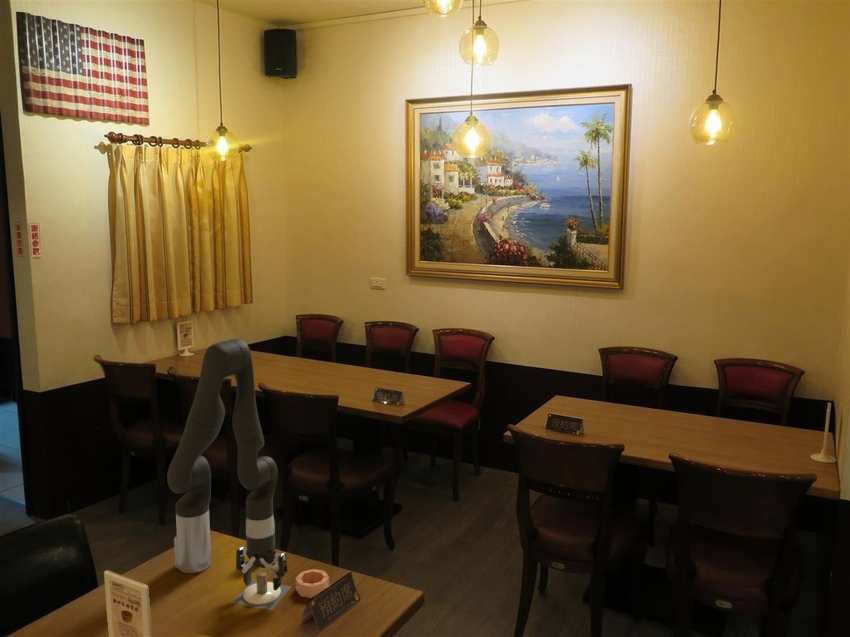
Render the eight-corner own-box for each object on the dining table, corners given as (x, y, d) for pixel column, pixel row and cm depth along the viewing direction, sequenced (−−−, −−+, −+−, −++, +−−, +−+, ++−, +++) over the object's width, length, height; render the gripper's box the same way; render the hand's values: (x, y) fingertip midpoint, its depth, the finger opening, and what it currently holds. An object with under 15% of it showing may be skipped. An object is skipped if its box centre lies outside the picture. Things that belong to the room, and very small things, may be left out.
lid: (236, 601, 186) (235, 581, 185) (254, 582, 196) (254, 563, 195) (270, 607, 184) (269, 587, 183) (287, 587, 193) (286, 568, 192)
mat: (231, 604, 186) (231, 602, 186) (253, 581, 197) (253, 579, 197) (271, 612, 183) (271, 610, 183) (292, 588, 194) (292, 586, 194)
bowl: (292, 596, 190) (291, 583, 189) (305, 580, 198) (305, 567, 197) (320, 601, 188) (320, 587, 187) (332, 585, 196) (332, 572, 195)
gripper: (229, 533, 185) (231, 589, 188) (277, 540, 181) (279, 597, 184) (243, 521, 192) (246, 575, 195) (290, 528, 188) (292, 583, 191)
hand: (262, 586), depth 189 cm, fingers open, 8 cm apart
